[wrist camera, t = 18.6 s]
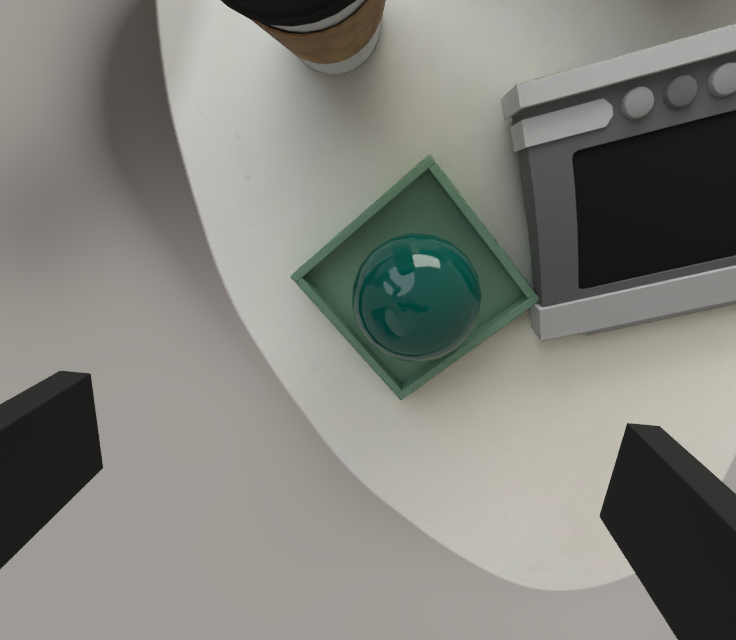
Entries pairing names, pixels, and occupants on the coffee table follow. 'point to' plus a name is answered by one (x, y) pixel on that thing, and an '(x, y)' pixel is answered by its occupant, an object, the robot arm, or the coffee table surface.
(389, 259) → the sphere
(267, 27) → the coffee cup
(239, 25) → the coffee table surface
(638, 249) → the alarm clock
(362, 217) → the tray
